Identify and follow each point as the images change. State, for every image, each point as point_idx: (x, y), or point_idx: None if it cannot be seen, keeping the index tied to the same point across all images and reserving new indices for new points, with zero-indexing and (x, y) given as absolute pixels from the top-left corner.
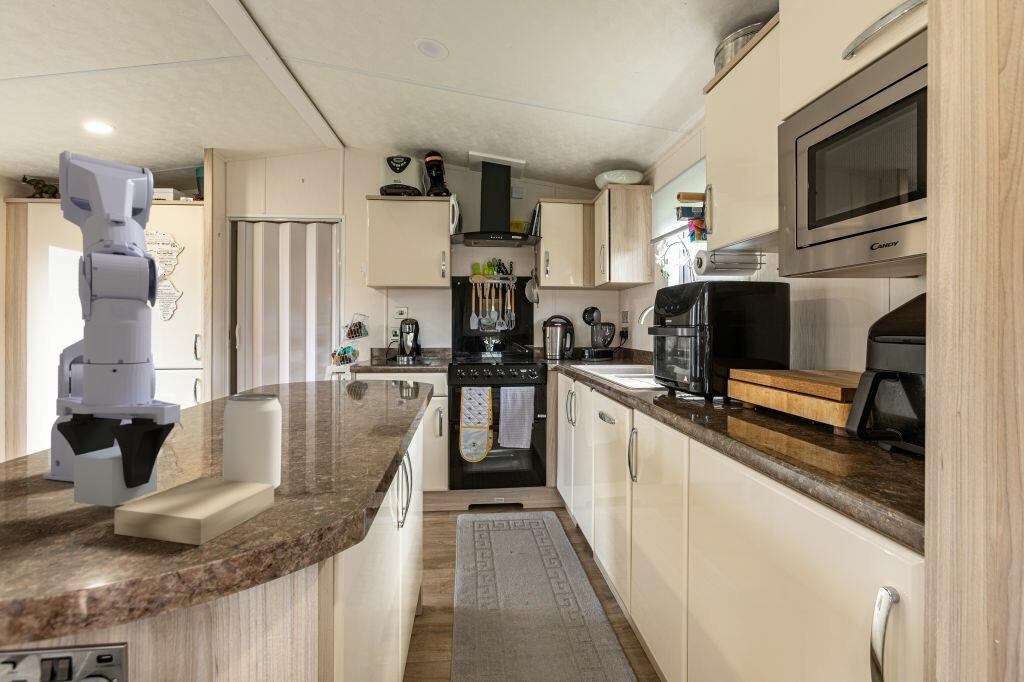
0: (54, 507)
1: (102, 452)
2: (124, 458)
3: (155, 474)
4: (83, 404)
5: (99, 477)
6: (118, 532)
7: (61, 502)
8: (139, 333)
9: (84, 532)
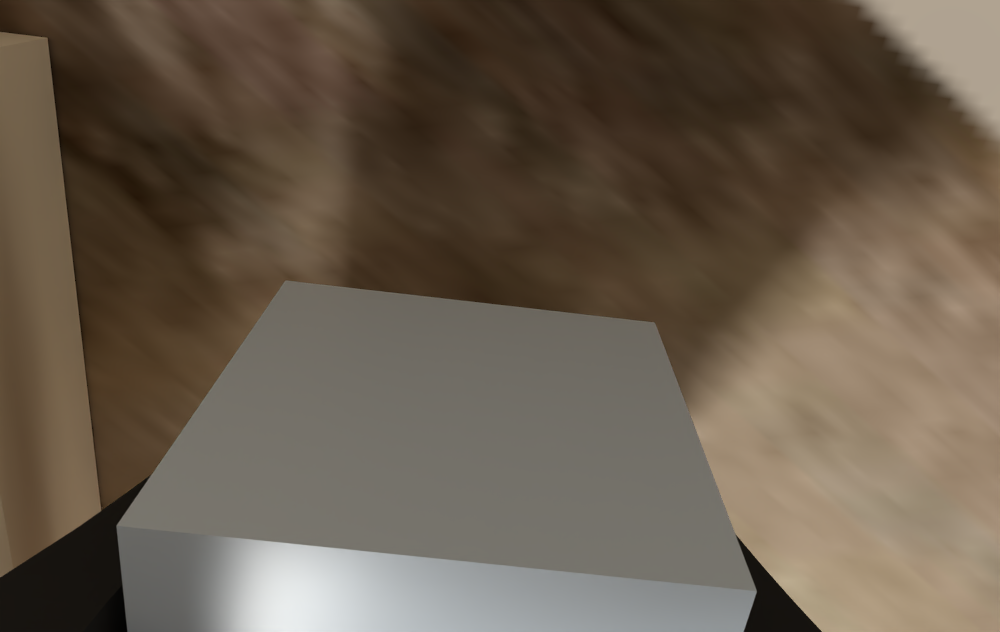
0: (889, 375)
1: None
2: (60, 599)
3: None
4: None
5: (370, 409)
6: (2, 33)
7: (916, 448)
8: None
9: (282, 35)
